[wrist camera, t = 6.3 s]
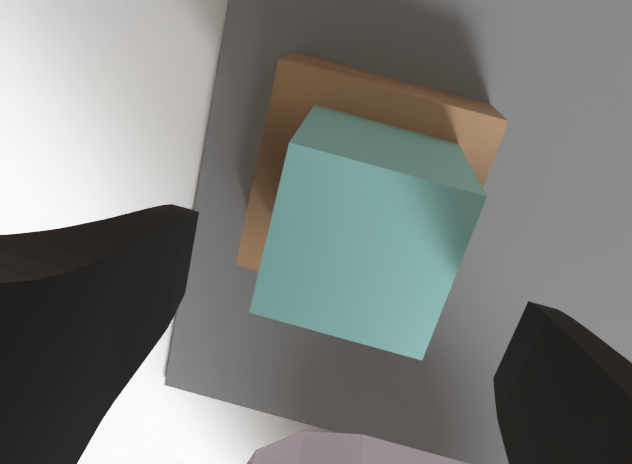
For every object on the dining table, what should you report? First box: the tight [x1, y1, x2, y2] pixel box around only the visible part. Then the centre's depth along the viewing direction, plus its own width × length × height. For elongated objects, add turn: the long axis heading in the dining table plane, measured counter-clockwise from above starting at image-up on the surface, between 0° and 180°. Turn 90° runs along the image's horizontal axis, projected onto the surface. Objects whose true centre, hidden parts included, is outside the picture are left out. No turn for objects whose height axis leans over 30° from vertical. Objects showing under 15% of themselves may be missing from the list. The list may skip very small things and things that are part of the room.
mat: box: [165, 0, 632, 464], centre depth 22 cm, size 20×24×1 cm
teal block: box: [249, 105, 487, 360], centre depth 16 cm, size 4×4×5 cm
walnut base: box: [236, 51, 508, 271], centre depth 19 cm, size 7×7×3 cm
